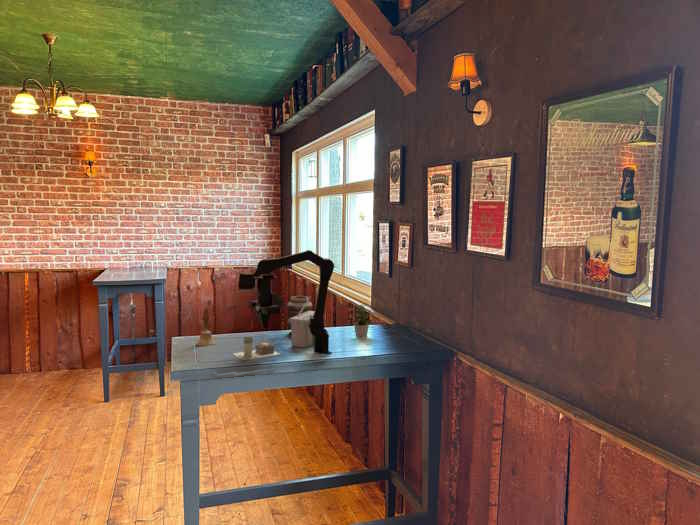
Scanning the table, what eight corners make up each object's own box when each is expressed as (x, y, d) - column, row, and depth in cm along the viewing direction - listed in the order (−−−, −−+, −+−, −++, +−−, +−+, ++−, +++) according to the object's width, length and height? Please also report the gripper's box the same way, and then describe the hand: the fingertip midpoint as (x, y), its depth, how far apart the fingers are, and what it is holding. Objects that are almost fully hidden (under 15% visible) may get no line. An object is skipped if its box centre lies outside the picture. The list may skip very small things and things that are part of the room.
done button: (270, 349, 213) (270, 344, 213) (262, 350, 211) (262, 345, 211) (266, 347, 216) (266, 342, 216) (258, 348, 214) (258, 343, 214)
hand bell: (208, 340, 235) (207, 305, 234) (219, 343, 230) (219, 308, 229) (192, 344, 229) (191, 308, 227) (203, 347, 224) (203, 310, 222)
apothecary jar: (283, 335, 248) (283, 298, 246) (292, 330, 259) (292, 294, 258) (307, 337, 245) (307, 299, 243) (315, 331, 256) (315, 295, 255)
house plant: (339, 334, 251) (340, 301, 250) (365, 332, 257) (365, 299, 256) (352, 341, 238) (352, 305, 237) (378, 338, 244) (379, 304, 243)
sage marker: (253, 356, 207) (254, 337, 206) (246, 357, 205) (246, 339, 204) (250, 354, 210) (250, 336, 209) (242, 355, 207) (242, 337, 207)
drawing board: (280, 356, 212) (280, 353, 211) (243, 361, 202) (243, 359, 202) (268, 350, 220) (268, 347, 220) (232, 355, 211) (232, 353, 211)
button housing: (274, 352, 213) (274, 345, 213) (261, 354, 210) (261, 347, 210) (268, 349, 218) (268, 342, 218) (255, 351, 215) (255, 344, 214)
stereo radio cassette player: (305, 350, 221) (306, 303, 219) (288, 348, 224) (288, 302, 222) (324, 339, 241) (325, 296, 239) (308, 338, 244) (309, 295, 242)
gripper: (292, 291, 209) (292, 330, 210) (272, 286, 224) (271, 321, 225) (267, 293, 202) (267, 333, 204) (247, 287, 218) (247, 324, 219)
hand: (264, 327), depth 213 cm, fingers closed
